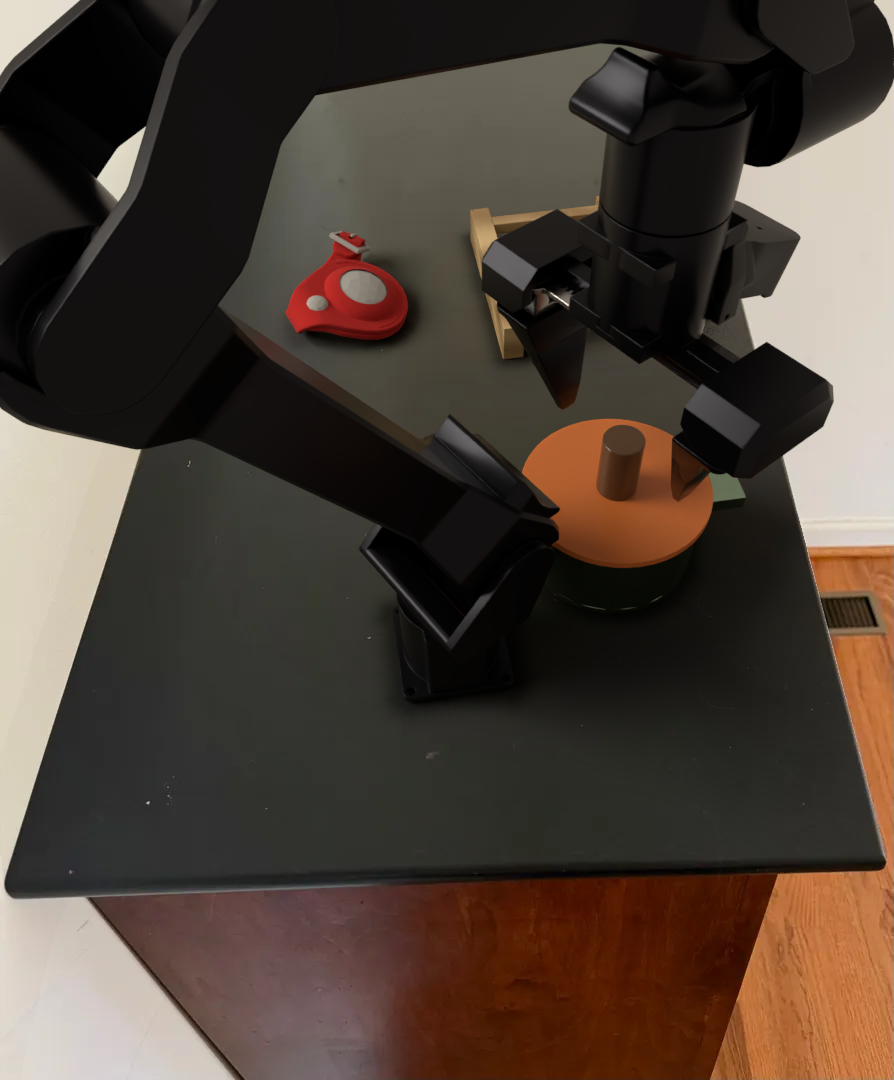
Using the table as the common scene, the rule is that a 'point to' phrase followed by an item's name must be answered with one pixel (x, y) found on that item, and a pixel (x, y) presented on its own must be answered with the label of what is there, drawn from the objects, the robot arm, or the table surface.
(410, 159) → the table surface
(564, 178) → the table surface
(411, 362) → the table surface
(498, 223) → the rack
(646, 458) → the lid
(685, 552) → the pot
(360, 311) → the tracker holder
